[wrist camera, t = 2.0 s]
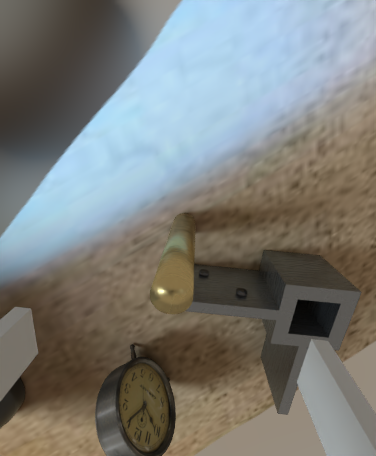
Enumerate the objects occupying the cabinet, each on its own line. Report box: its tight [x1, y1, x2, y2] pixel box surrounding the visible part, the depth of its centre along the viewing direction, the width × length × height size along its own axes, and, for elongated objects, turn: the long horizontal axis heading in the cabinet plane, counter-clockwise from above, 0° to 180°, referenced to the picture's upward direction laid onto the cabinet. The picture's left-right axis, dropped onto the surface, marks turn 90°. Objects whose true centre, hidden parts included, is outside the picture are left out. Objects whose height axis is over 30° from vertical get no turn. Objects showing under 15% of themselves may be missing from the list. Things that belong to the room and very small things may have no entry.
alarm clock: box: [95, 344, 176, 456], centre depth 29 cm, size 11×5×16 cm, turn 38°
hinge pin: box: [150, 213, 195, 314], centre depth 22 cm, size 3×3×15 cm
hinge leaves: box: [186, 250, 361, 415], centre depth 29 cm, size 18×18×8 cm
